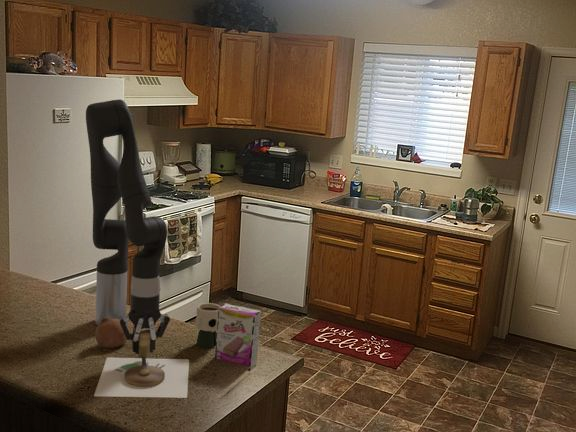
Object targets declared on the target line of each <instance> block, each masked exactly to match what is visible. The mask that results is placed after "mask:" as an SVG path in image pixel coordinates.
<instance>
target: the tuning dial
mask: <svg viewBox="0 0 576 432" xmlns="http://www.w3.org/2000/svg"><path fill="white" fill-rule="evenodd" d="M150 340H151V333H150V331H149V329H148V328H143V329H141V331H140V334H139V337H138V341H139V347H138V354H137V358H142V366H136V367H132V368H130V369H128V370H127V371H126V372H125V377H124V378H125V381H126V382H127V383H129V384H131V385H134V386H142V387H145V386H153V385H157V384H159V383H161V382H162V381H163V380H164V378H165V373H164V371H163V370H162V369H160V368H158V367H155V366H149V365H146V358H150V356H151V355H150V354H151V353H150Z"/></svg>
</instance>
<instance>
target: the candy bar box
mask: <svg viewBox="0 0 576 432" xmlns="http://www.w3.org/2000/svg"><path fill="white" fill-rule="evenodd" d="M220 306H221V307H219V309H218V323H217V330H216V332H217V336H216V346H215V353H214V358H215V359H217V360H221V361H225V362H230V363H234V364H239V365H243V366H248V368H247V371H252V370H253V368H254V367H256V365H257V363H258V362H257V361H258V352H259V351H258V350H259V339H260V328H261V327H260V326H261V315H262V311H261V310H258V309H255V308H254V309H253V308H249V307H245V306H244V307H243V306H241V305H235V304H232V303H224V304H222V305H220Z"/></svg>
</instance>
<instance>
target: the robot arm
mask: <svg viewBox="0 0 576 432" xmlns="http://www.w3.org/2000/svg"><path fill="white" fill-rule="evenodd" d="M85 123H86V131H87V132H86V133H87V139H88V146H89V158H90V186H91V187H90V188H91V189H90V190H91V198H92V243H93V245H94V247H95V248H96V249H99V250H112V251H113V250H114V251H117V252H116V253H114V254H112V255H110V256H107V257H104V258H102V259H100V260H98V261H97V264H96V286H95V287H96V288H95V289H96V290H95V317H94V318H95V321H94V323H95V325H96V326H98V325H99V324H100V323H101V322H102V320H103V318H106V317H108V318H111V319H119V322H120V325H121V327H122V329H123V331H124V334H125V336H126V338H127V341H130V340H131V342H132V343H131V350H132V352H133V353H134V354H135V355H138V347H139V341H138V337H139V334H140V331H141V330H143V329H148V330H149V331H150V333H151V340H150V354H153V352H154V351H155V350H156V343H157V342H156V341H157V339H158V338H162V337H163V335H164V333H165V332H166V329H167V327H168V325H169V323H170V320H171V318H170V316H169V314H167V313H165V314H163V313H161V311H160V300H161V299H160V296H161V279H160V266H161V265H160V264H161V258H162V255H163V252H164V249H165V246H166V243H167V238H168V228H167V224H166V222H165V220H164V219H163V218H162V217H161V216H157V215H154V216H148V217H144V210H145V209H147V208H149V207H150V206H151V205H152V197H151V194H150V192H149V188H148V185H147V182H146V179H145V176H144V173H143V170H142V169H143V168H142V164H141V159H140V155H139V154H140V153H139V148H138V147H139V146H138V142H137V137H136V132H135V127H134V122H133V117H132V113H131V111H130V108H129V106H128V104H127V103H126V101H124V100H122V99H111V100H107V101H106V100H105V101H101V102H94V103H90V104H88V105H87V107H86V109H85ZM116 136H121V137H122V142H123V151H122V157H121V161H120V162H119V161H118V159H116V158H115V157H114V156H113V155H112V154H111V153H110V152H109V151H108V149H107V148H106V147H105V145H104V140H105V139H106V138H111V137H116ZM120 200H122V202H123V205H124V219H112V218H111V219H110V218H109V219H107V218H106V217H107V215H108V213H109V212H110V211H111V210H112V208H113V207H114V206H115V205H117V203H119V201H120ZM130 243H131V244H132V245H133V246H135V247H143V248H142V249H141V250H140V251H138V252H137V253H135V254H134V255H133V257H132V267H131V268H132V270H131V272H132V273H131V280H130V302H129V303H130V307H129V312H128V315H127V299H128V298H127V296H128V295H127V292H128V267H129V265H128V264H129V258H128V257H129V246H130ZM129 321H130V322H131V323H132V324H133V329H132V333H131V332H130V330H129V331H128V329H127V325H129ZM158 321H160V322H159V325H158V327H157V330H156V329H155V325H156V323H157V322H158Z"/></svg>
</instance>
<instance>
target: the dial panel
mask: <svg viewBox="0 0 576 432" xmlns="http://www.w3.org/2000/svg"><path fill="white" fill-rule="evenodd" d="M146 365H149V366H155V367H158V368H160V369H162V370H163V371H164V373H165V378H164V380H163V381H162V382H161V383H159V384H157V385H153V386H145V387H142V386H134V385H131V384H129V383H127V382H126V381H125V378H124V377H125V372H126V371H127V370H128V369H130V368H132V367H136V366H142V358H139V357H106V359H105V362H104V366H103V369H102V370H101V374H100V377H99V380H98V383H97V385H96V388H95V392H94V394H93V397H104V398H105V397H113V398H115V397H116V398H119V397H120V398H123V397H124V398H171V399H173V398H175V399H177V398H179V399H181V398H182V399H184V398H185V399H188V392H189V391H188V389H189V387H188V386H189V367H190V359H187V358H186V359H181V358H179V359H178V358H150V357H149V358H146Z"/></svg>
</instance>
